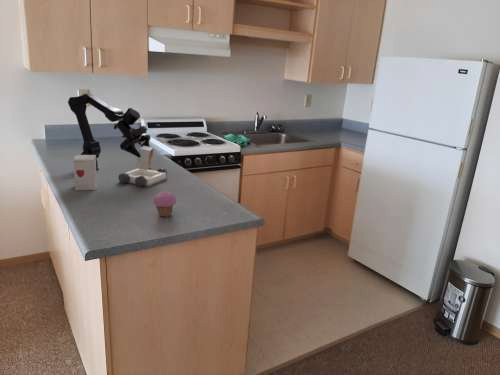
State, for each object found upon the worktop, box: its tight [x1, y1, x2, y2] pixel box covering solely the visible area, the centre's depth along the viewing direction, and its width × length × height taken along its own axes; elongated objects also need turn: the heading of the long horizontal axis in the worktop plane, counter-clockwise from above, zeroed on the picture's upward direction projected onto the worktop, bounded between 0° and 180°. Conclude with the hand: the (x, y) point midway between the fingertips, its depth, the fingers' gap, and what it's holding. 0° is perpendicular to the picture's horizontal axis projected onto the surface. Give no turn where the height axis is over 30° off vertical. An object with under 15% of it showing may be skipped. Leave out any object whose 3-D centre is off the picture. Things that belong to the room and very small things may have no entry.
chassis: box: [118, 167, 168, 188], centre depth 206 cm, size 20×17×5 cm
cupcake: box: [152, 191, 177, 217], centre depth 162 cm, size 9×9×10 cm
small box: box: [136, 146, 155, 171], centre depth 203 cm, size 8×6×10 cm
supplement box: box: [73, 154, 98, 191], centre depth 188 cm, size 9×9×15 cm
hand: (145, 155), depth 203 cm, fingers closed on small box, 9 cm apart
